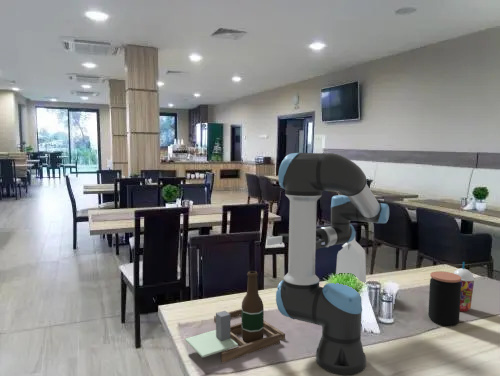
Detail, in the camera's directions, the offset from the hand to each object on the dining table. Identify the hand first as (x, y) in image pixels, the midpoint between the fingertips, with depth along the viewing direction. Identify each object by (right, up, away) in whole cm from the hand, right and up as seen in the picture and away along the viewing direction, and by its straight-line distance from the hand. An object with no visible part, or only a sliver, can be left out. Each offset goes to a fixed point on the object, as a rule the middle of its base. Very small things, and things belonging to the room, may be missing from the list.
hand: (278, 245), depth 137 cm
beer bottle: (-9, -32, -4) cm, 34 cm away
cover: (-23, -30, -13) cm, 40 cm away
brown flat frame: (-16, -32, 0) cm, 35 cm away
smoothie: (+78, -30, +22) cm, 86 cm away
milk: (+37, -28, +43) cm, 63 cm away
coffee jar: (+65, -31, +11) cm, 73 cm away
